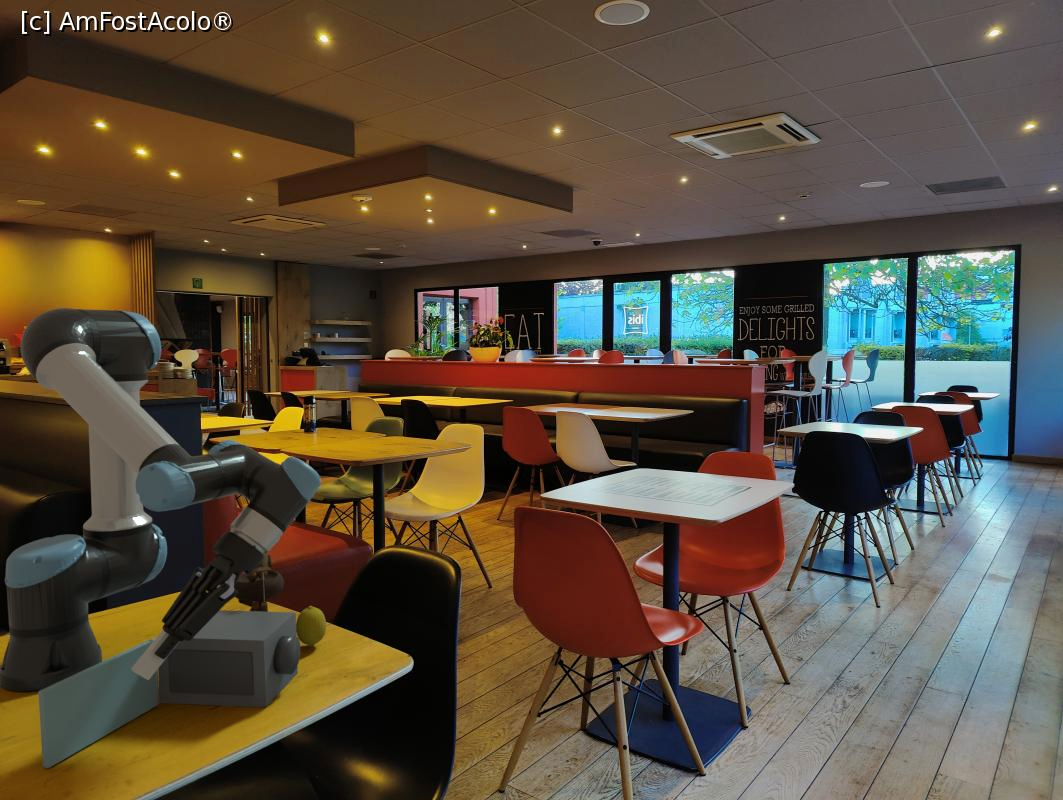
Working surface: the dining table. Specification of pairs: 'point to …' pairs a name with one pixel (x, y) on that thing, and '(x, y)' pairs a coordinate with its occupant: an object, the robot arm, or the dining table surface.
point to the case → (233, 661)
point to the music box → (259, 586)
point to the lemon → (311, 626)
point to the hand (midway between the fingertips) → (139, 674)
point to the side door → (94, 704)
